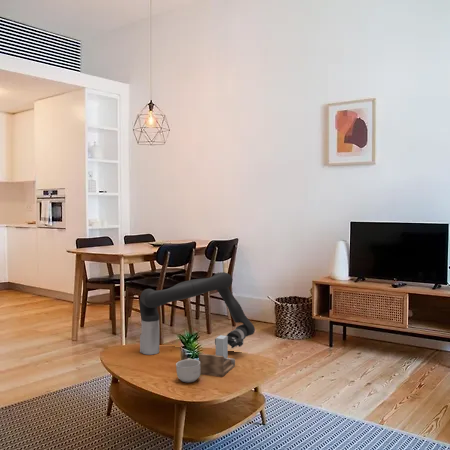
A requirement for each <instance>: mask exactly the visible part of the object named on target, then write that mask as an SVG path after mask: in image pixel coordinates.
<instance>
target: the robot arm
mask: <svg viewBox="0 0 450 450" xmlns="http://www.w3.org/2000/svg"><path fill="white" fill-rule="evenodd" d="M233 281H234V280H233V277H232V275H231V274H229V273H228V272H216V273H214V275H213V276H211V277H210V276H209V277H204V278H196V279H195V278H194V279H189V280H185V281H181V282H179V283H177V284H174V285H173V286H171V287H169V288H165V289H164V288H163V289H159V290H155V289H152V288H146V289H144V290H142V291H141V293H140V295H139V296H140V297H139V309H140V311H139V313H140V316H141V334H139V353H141V354H143V355H156V354H159V353H160V314H159V311H158V307H160V306H163V305H166V304H169V303H172V302H177V301H181V300H186V299H190V298H194V297H197V296H200V295H203V294H206V293H210V292H212V291H217V292H218V294H219V296H220V297H221V299H222V300H223V302H224V304H225V306H226V308H227V310H228V312H229V313H230V316H231V318H232V320H233V321H234V323H237V324H238V323H241V324H240V325H237V326H236V327H235V328H234V329H233V330H232V331H230V332H228V333H227V334H226V336H228V346H231V349H234V348H237V347H238V348H241V347H242V346H243V345H244V339H246V337H248V336H252V335H254V333H255V330H256V329H255V326H254V324H253V323H252V321H251V320H249V318H248V317H247V316H246V314H245V313H244V310H243V307H242V306H241V304H240V303H239V301H238V300H237V299H236V298H235V296H234V295H233V294H232V292H231V290H230V287H231V286H232V285H233ZM214 344H215V346H216V338H214Z"/></svg>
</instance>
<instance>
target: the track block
mask: <svg viewBox="0 0 450 450" xmlns="http://www.w3.org/2000/svg"><path fill="white" fill-rule="evenodd" d="M198 360H199V361H200V375H208V376H212V377H213V376H215V377H222V378H224V376H226V375H227V374H228V373H229V372H230V371H231V370H233V368H235V367H236V358H230V357H228V358H224V356H218V355H216V354H209V353H198Z"/></svg>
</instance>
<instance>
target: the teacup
mask: <svg viewBox="0 0 450 450" xmlns="http://www.w3.org/2000/svg"><path fill="white" fill-rule="evenodd" d="M175 367H176V369H175V370H176V376H177V378H178V380H180V381H181V382H183V383H194V382H196V381H197V380H198V379H199V378H200V376H201V374H200V361H199V359H195V358H193V359H192V358H189V357H188V358H186V359H182V360H179V361H177V362H176V363H175Z"/></svg>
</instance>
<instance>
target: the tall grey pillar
mask: <svg viewBox="0 0 450 450" xmlns="http://www.w3.org/2000/svg"><path fill="white" fill-rule="evenodd" d="M215 339H216V345H215V355H218V356H224V358H229V357H228V355H229V354H228V353H229V352H228V350H229V349H228V346H229V344H228V336H227V335H221V334H220V335H218V336H217V337H216V338H215Z"/></svg>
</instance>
